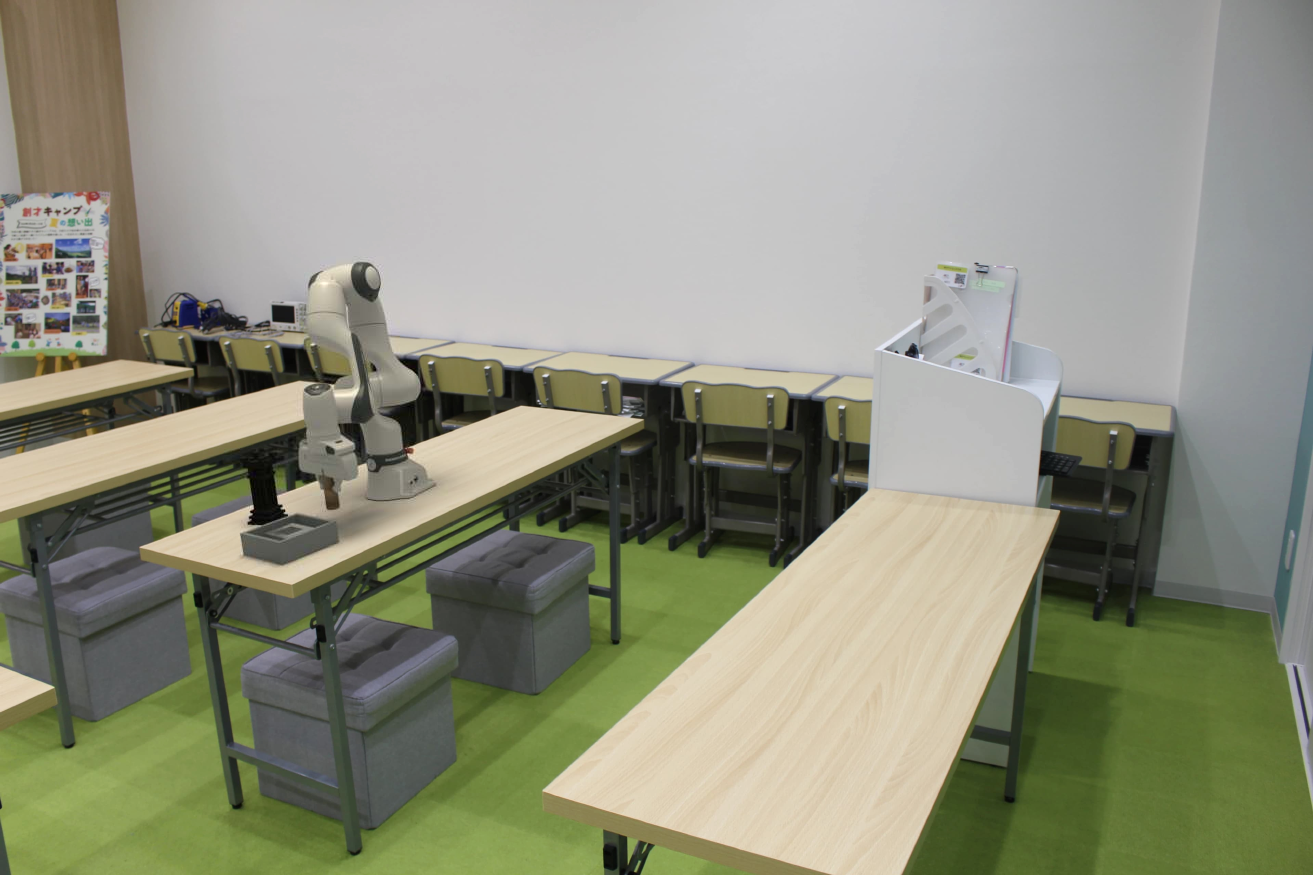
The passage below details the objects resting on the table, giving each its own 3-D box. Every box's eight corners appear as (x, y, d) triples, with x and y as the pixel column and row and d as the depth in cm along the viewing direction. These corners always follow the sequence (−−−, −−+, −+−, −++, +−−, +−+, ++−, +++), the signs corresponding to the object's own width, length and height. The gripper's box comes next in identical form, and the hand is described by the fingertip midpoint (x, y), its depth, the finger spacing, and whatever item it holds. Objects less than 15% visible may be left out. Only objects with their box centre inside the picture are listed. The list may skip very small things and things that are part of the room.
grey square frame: (294, 536, 257) (292, 522, 256) (316, 541, 252) (314, 527, 251) (266, 547, 249) (263, 533, 248) (288, 553, 245) (285, 538, 244)
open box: (300, 533, 263) (297, 512, 261) (338, 541, 254) (336, 521, 253) (243, 554, 248) (240, 533, 246) (282, 564, 240) (279, 542, 238)
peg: (333, 504, 265) (328, 464, 262) (342, 506, 264) (337, 466, 260) (323, 508, 262) (318, 468, 259) (332, 510, 261) (326, 470, 257)
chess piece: (272, 525, 270) (262, 458, 265) (247, 524, 271) (237, 458, 266) (288, 516, 277) (278, 451, 272) (264, 515, 279) (254, 450, 274)
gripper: (289, 441, 260) (296, 488, 264) (341, 450, 250) (347, 499, 254) (308, 435, 265) (314, 481, 269) (359, 444, 255) (365, 492, 259)
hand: (330, 490), depth 262 cm, fingers closed on peg, 4 cm apart
